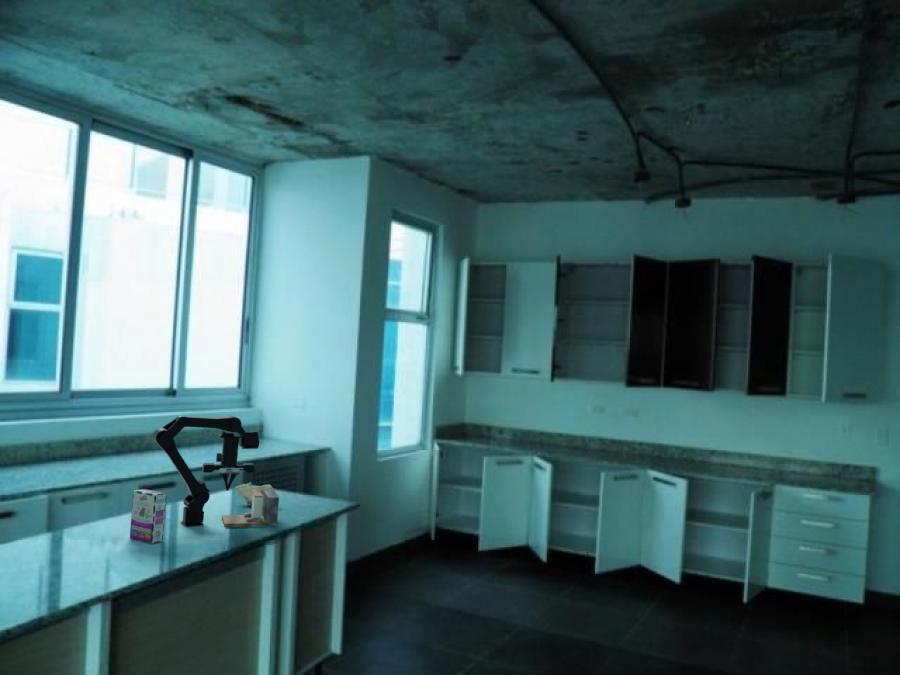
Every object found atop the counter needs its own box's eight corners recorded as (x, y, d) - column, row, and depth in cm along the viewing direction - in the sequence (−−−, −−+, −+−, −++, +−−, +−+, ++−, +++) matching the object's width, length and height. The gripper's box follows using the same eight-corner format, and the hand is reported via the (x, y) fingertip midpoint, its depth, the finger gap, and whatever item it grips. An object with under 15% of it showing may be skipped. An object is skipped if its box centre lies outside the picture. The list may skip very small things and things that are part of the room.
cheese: (280, 512, 306) (272, 484, 316) (278, 502, 301) (270, 474, 311) (243, 523, 301) (236, 495, 311) (241, 513, 296) (233, 485, 306)
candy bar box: (163, 541, 245) (167, 492, 245) (151, 544, 241) (155, 495, 241) (141, 535, 250) (144, 487, 250) (128, 538, 246) (132, 489, 246)
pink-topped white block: (252, 520, 275) (254, 495, 275) (251, 516, 280) (252, 492, 280) (261, 520, 276) (262, 495, 276) (259, 516, 281) (260, 492, 281)
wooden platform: (224, 527, 267) (226, 497, 268) (221, 519, 280) (223, 490, 280) (276, 526, 275) (279, 497, 275) (271, 518, 287) (273, 490, 287)
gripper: (252, 446, 287) (250, 486, 287) (203, 445, 280) (200, 486, 280) (256, 450, 277) (253, 491, 277) (205, 450, 270) (201, 492, 270)
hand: (227, 490), depth 276 cm, fingers closed
